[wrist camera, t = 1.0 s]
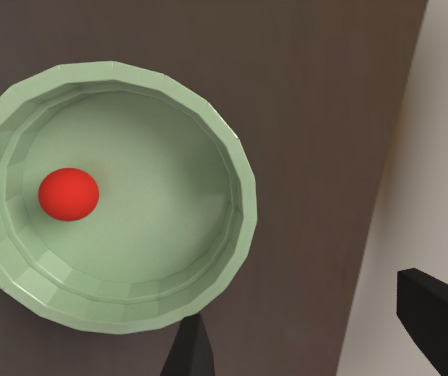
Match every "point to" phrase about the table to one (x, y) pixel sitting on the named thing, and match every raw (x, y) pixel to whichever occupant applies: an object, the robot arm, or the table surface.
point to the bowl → (121, 198)
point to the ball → (68, 194)
